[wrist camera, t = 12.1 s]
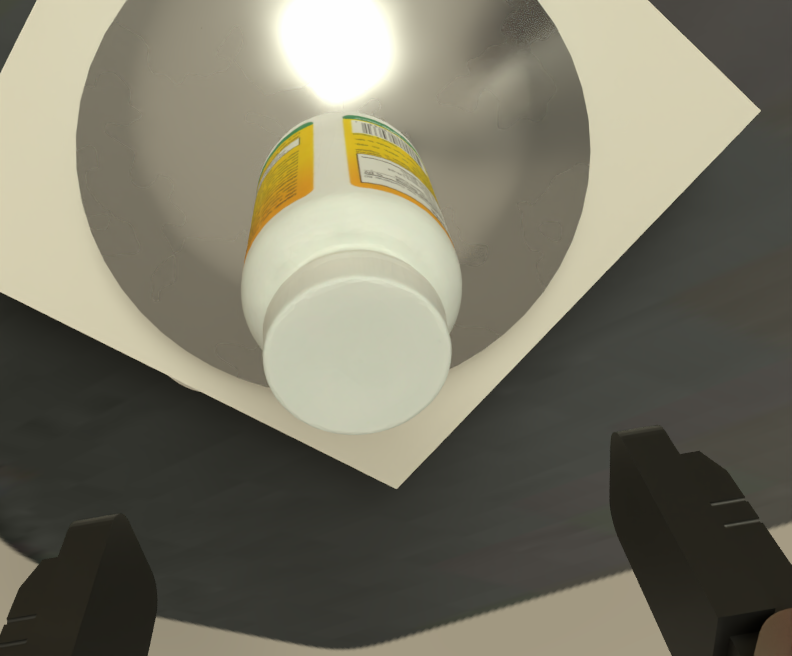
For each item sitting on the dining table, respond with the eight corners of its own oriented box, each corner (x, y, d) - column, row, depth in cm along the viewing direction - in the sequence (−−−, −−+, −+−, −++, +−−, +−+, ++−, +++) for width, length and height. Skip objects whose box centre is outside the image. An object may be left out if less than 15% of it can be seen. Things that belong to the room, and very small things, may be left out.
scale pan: (681, 127, 25) (692, 134, 24) (388, 445, 31) (390, 458, 30) (263, -250, 18) (261, -255, 18) (-5, 239, 24) (-14, 249, 24)
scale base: (706, 81, 28) (760, 110, 25) (381, 437, 36) (388, 497, 33) (248, -358, 21) (236, -401, 17) (-45, 213, 28) (-93, 261, 25)
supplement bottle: (416, 93, 22) (479, 224, 14) (434, 253, 25) (496, 438, 17) (237, 123, 22) (198, 270, 14) (276, 280, 25) (262, 478, 17)
